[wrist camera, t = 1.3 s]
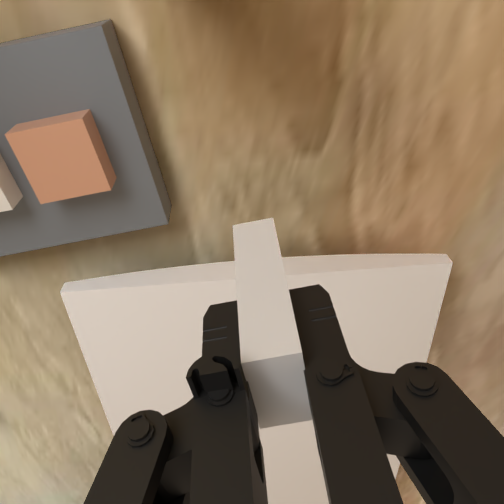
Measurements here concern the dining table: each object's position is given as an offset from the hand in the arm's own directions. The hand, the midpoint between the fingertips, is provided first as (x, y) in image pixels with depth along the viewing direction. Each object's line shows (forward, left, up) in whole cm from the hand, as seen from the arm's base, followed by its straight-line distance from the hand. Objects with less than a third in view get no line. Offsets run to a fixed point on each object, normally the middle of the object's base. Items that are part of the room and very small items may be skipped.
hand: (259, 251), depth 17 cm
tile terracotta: (0, -12, -16) cm, 20 cm away
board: (+35, -4, -20) cm, 40 cm away
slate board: (0, -16, -19) cm, 25 cm away
